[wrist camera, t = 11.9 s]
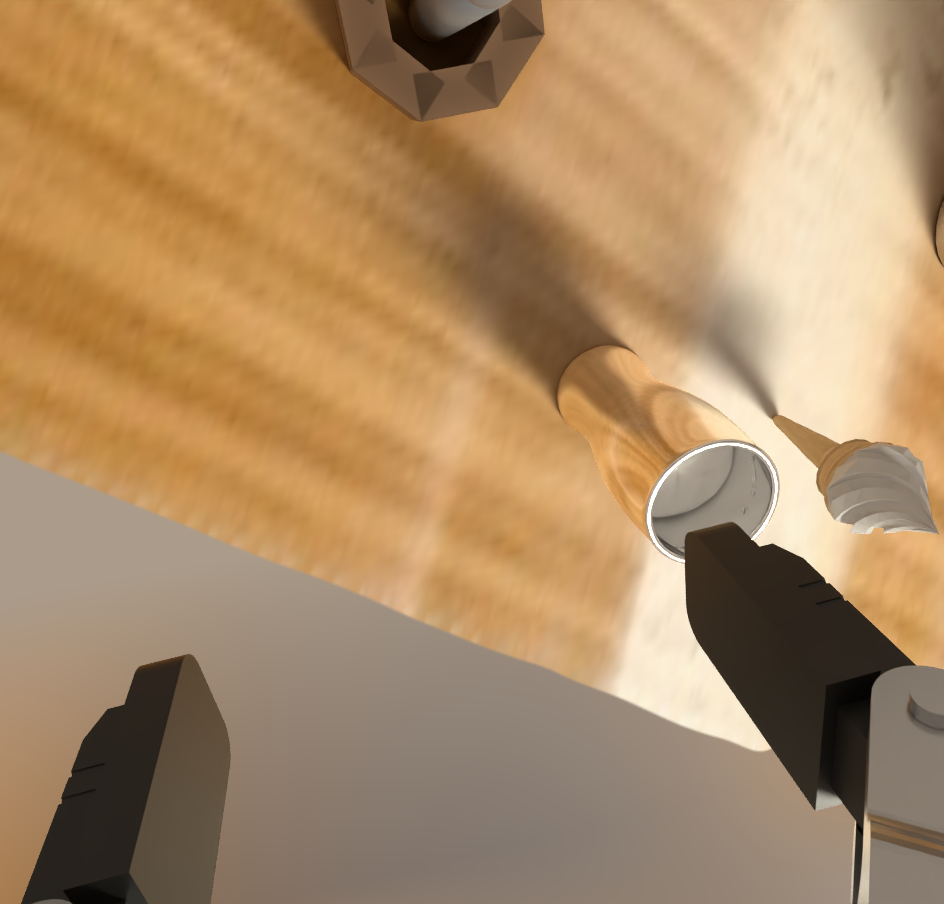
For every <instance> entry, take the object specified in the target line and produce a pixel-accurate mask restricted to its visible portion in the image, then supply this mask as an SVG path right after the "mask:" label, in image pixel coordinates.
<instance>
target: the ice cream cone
mask: <svg viewBox="0 0 944 904" xmlns="http://www.w3.org/2000/svg"><path fill="white" fill-rule="evenodd" d="M773 422H774V423H775V425H776V426H777V427H778V428H779V429H780V430H781V431H782V432H783V433H784V434H785V435H786V436H787V437H788V438H789V439H790V440H791V441H792V442H793V443H794V445H796V446H797V447H798V448H799V449H800V451H801V452H802V453H803V454H804V455H805V456H806V457H807V458H808V459H809V460H810V461H811V462H812V463H813V464H814V465H815V466H816V467H817V468H818V472H817V479H816V484H817V487H818V490H819V491H820V492H821V494H822V495H823V496H824V501H825V504H826V507H827V510H828V511H829V512H830V514H831V515H832V517H833V518H834V520H835V521H838V522H841V523H846V524H852V525H853V526H852V528H851V531H850V533H859V534H871V532H872V531H873V529H874V527H877V528H884V531H883V533H895V532H900V531H904V530H906V531H915V532H927V533H935V534H939V533H938V530H937V528H936V525H935V522H934V520H933V518H932V514H931V510H930V505H929V498H928V491H927V485H926V478H925V473H924V467H923V462H922V461H920V460H919V459H918V458H916V457H915V456H914V455H913V454H912V453H911V451H910V450H909V449H908V448H906V447H901V446H897V445H893V444H891V443H885V442H875V443H871V442H869V441H867V440H860V439H855V440H851V441H847V442H844V443H842V444H841V445H840V444H838V443H836V442H834V441H832V440H830V439H829V438H827V437H825V436H823V435H821V434H818V433H816V432H814V431H812V430H810V429H808V428H806V427H804V426H802V425H800V424H798V423H795V422H793V421H792V420H790V419H788V418H786V417H784V416H781V415H776V416H774V418H773Z"/></svg>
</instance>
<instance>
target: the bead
mask: <svg viewBox="0 0 944 904" xmlns="http://www.w3.org/2000/svg"><path fill="white" fill-rule="evenodd" d="M335 4H336V9H337V14H338V18H339V23H340V27H341V32H342V37H343V41H344V46H345V51H346V55H347V60H348V65H349V69H350V73H351V74H353V75H354V76H355V77H357V78H358V79H359V80H360V81H362V82H363V83H364V84H366V85H367V86H368V87H370V88H371V89H372V90H374V91H375V92H376V93H377V94H379V95H380V96H381V97H383V98H384V99H385V100H387V101H388V102H389V103H391V104H392V105H393V106H395V107H396V108H397V109H398V110H400V111H401V112H402V113H404V114H405V115H406V116H408V117H409V118H410V119H412V120H415V121H420V122H422V121H428V120H433V119H438V118H443V117H449V116H454V115H459V114H464V113H470V112H475V111H480V110H485V109H491V108H496V107H498V106H499V105H500V103H501V101H502V100H503V98H504V97H505V95H506V94H507V92H508V91H509V89H510V87H511V86H512V84H513V83H514V81H515V80H516V78H517V77H518V75H519V73H520V72H521V70H522V69H523V67H524V66H525V64H526V63H527V61H528V59H529V58H530V56H531V55H532V53H533V52H534V50H535V49H536V47H537V45H538V44H539V42H540V41H541V39H542V38H543V36H544V35H545V33H544V24H543V14H542V4H541V0H511V1H510V2H509V3H508V4H506V5H504V6H503V7H501V8H499V9H497V10H495V11H494V12H492V13H490V14H488V15H486V16H484V17H483V18H482V24H483V30H482V32H481V34H480V35H479V37H478V39H477V40H476V42H475V43H474V45H473V47H472V48H471V50H470V52H469V53H468V55H467V56H466V58H465V60H464V61H463V63H462V64H461V66H456V67H451V68H445V69H440V70H434V71H430V70H428V69H427V68H426V67H425V66H423V65H422V64H421V63H420V62H418V61H417V60H416V59H415V58H413V57H412V56H411V55H410V54H408V53H407V52H406V51H405V50H403V49H402V48H401V47H400V46H398V45H397V44H396V43H395V42H393V41H392V36H391V30H390V25H389V20H388V14H387V9H386V4H385V0H335Z"/></svg>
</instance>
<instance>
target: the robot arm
mask: <svg viewBox="0 0 944 904" xmlns="http://www.w3.org/2000/svg"><path fill="white" fill-rule="evenodd" d="M936 245H937V250H938V255H939V257H940V260H941V262H942V264H943V266H944V201H943V203H942V206H941V208H940V212H939V216H938V221H937V225H936ZM684 551H685V582H686V608H687V614H688V618H689V622H690V625H691V628H692V630H693V633H694V635H695V637H696V639H697V641H698V643H699V644H700V646H701V647H702V649H703V650H704V652H705V653H706V654H707V656H708V657H709V659H710V660H711V662H712V663H713V665H714V666H715V667H716V669H717V670H718V672H719V673H720V675H721V676H722V677H723V679H724V680H725V682H726V683H727V685H728V686H729V688H730V689H731V690H732V692H733V693H734V695H735V696H736V698H737V699H738V700H739V702H740V703H741V705H742V706H743V708H744V709H745V711H746V712H747V713H748V715H749V716H750V718H751V719H752V721H753V722H754V724H755V725H756V726H757V728H758V729H759V731H760V732H761V734H762V735H763V736H764V738H765V739H766V741H767V742H768V744H769V745H770V747H771V748H772V749H773V751H774V752H775V754H776V755H777V757H778V758H779V759H780V761H781V762H782V764H783V765H784V766H785V768H786V769H787V771H788V772H789V774H790V775H791V777H792V778H793V780H794V781H795V782H796V784H797V785H798V787H799V788H800V790H801V791H802V792H803V794H804V795H805V797H806V798H807V800H808V801H809V803H810V804H811V806H812V807H813V808H814V810H815V811H818V810H821V809H825V808H828V807H832V806H835V805H839V804H842V803H843V804H844V805H845V806H846V808H847V809H848V811H849V812H850V813H851V815H852V816H853V817H854V819H855V827H854V840H853V860H852V880H851V901H850V904H944V670H943V669H939V668H935V667H928V666H916V665H915V664H914V663H913V662H912V661H911V660H910V659H909V658H908V657H907V656H906V655H905V654H904V653H903V652H901V651H900V650H899V649H898V648H897V647H896V646H895V645H894V644H893V643H892V642H891V641H890V640H889V639H888V638H887V637H886V636H885V635H884V634H883V633H881V632H880V631H879V630H878V629H877V628H876V627H875V626H874V625H873V624H872V623H871V622H870V621H869V620H868V619H867V618H866V617H865V616H864V615H862V614H861V613H860V612H859V611H858V610H857V609H856V608H855V607H854V606H853V605H852V604H851V603H850V602H849V601H848V600H847V601H845V600H844V599H843V596H842V595H841V594H840V593H839V592H838V591H837V590H836V589H835V588H834V587H833V586H832V585H831V584H830V583H828V584H827V583H826V582H825V579H824V578H823V577H822V576H821V575H820V574H819V573H818V572H817V571H816V570H815V569H814V568H813V567H812V566H811V565H810V564H809V563H808V562H807V561H806V560H804V559H803V558H801V557H799V556H797V555H795V554H793V553H791V552H789V551H787V550H785V549H783V548H781V547H779V546H776V545H774V544H769V545H765V546H761V547H759V546H758V545H757V544H756V543H755V542H754V541H753V540H752V539H751V538H750V537H749V536H748V535H747V534H746V533H745V532H744V531H743V530H742V528H741V527H740V526H738V525H737V524H736V523H734V522H727V523H723V524H719V525H715V526H711V527H707V528H703V529H699V530H695V531H691V532H688V533H687V534H686V536H685V541H684ZM229 769H230V744H229V737H228V733H227V729H226V726H225V723H224V720H223V718H222V716H221V713H220V711H219V709H218V707H217V704H216V702H215V700H214V698H213V695H212V693H211V691H210V689H209V686H208V684H207V682H206V680H205V677H204V675H203V673H202V671H201V668H200V666H199V664H198V662H197V661H196V659H195V657H194V656H192V655H191V654H187V655H183V656H179V657H175V658H171V659H167V660H162V661H158V662H154V663H150V664H146V665H142V666H140V667H139V668H138V669H137V670H136V672H135V674H134V678H133V680H132V684H131V686H130V690H129V692H128V695H127V698H126V702H125V704H124V705H122V706H118V707H114V708H110V709H107V711H106V712H105V713H104V714H103V716H102V717H101V718H100V719H99V721H98V722H97V723H96V724H95V726H94V727H93V728H92V729H91V731H90V732H89V733H88V735H87V736H86V737H85V738H84V740H83V742H82V744H81V747H80V750H79V752H78V755H77V757H76V760H75V763H74V765H73V768H72V771H71V772H72V777H70V778H69V779H68V781H67V784H66V786H65V789H64V792H63V794H62V797H61V798H62V804H59V805H58V808H57V810H56V813H55V815H54V818H53V821H52V823H51V826H50V829H49V832H48V834H47V837H46V839H45V842H44V845H43V847H42V850H41V852H40V855H39V858H38V860H37V863H36V866H35V869H34V871H33V874H32V876H31V879H30V881H29V884H28V887H27V889H26V892H25V895H24V897H23V901H22V903H21V904H210V902H211V895H212V888H213V880H214V873H215V867H216V860H217V853H218V846H219V839H220V832H221V825H222V817H223V811H224V804H225V796H226V790H227V783H228V775H229Z"/></svg>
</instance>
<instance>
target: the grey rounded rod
mask: <svg viewBox="0 0 944 904" xmlns="http://www.w3.org/2000/svg"><path fill="white" fill-rule="evenodd" d="M510 1H511V0H411V1H410V5H409V20H410V23H411V26H412V28H413V30H414V31H415V32H416V34H417V35H418V36H419V37H421V38H422V39H424V40H427V41H431V42H437V41H441V40H443V39H445V38H447V37H448V36H450V35H452V34H454V33H456V32H457V31H459V30H461V29H463V28H465V27H466V26H468V25H470V24H472V23H474V22H475V21H477V20H479V19H481V18H483V17H484V16H486V15H488V14H490V13H492V12H494V11H495V10H497V9H499V8H501V7H503V6H504V5H506V4H508V3H509V2H510Z"/></svg>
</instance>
